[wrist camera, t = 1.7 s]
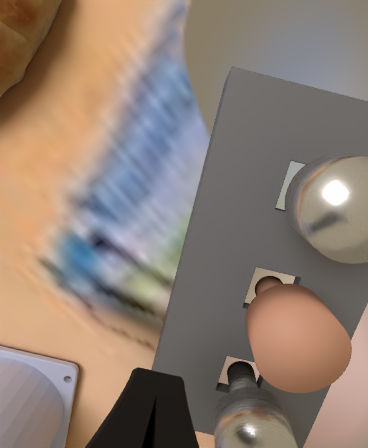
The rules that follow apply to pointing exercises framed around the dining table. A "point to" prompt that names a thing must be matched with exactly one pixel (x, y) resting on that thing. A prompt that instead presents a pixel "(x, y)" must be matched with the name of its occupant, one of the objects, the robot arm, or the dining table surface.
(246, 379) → the far knob
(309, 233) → the near knob
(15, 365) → the robot arm
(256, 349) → the middle knob
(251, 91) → the knob panel
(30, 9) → the pastry
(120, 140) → the dining table surface
